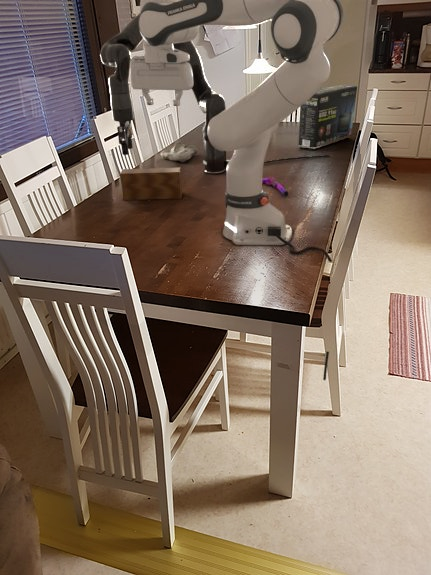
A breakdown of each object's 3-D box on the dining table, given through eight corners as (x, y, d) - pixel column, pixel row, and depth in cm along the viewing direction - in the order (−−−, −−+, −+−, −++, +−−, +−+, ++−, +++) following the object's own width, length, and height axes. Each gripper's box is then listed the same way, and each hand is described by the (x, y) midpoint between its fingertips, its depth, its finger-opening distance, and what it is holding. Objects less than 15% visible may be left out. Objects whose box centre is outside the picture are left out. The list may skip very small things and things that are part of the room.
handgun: (255, 182, 193) (255, 177, 192) (273, 180, 195) (273, 175, 194) (269, 198, 176) (269, 193, 175) (289, 195, 177) (289, 191, 176)
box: (182, 193, 185) (180, 167, 179) (181, 198, 180) (179, 171, 174) (126, 194, 186) (122, 169, 180) (123, 200, 180) (119, 173, 175)
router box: (314, 151, 231) (318, 94, 217) (296, 148, 237) (299, 92, 224) (352, 138, 251) (358, 85, 238) (335, 135, 258) (340, 83, 245)
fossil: (184, 156, 217) (163, 136, 220) (174, 174, 223) (154, 154, 227) (205, 153, 231) (186, 134, 234) (195, 171, 237) (176, 152, 240)
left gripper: (115, 103, 171) (121, 147, 180) (107, 110, 159) (114, 157, 168) (135, 102, 171) (140, 146, 179) (128, 109, 159) (134, 156, 167)
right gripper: (123, 56, 137) (129, 106, 144) (184, 56, 130) (187, 108, 137) (134, 55, 142) (140, 102, 149) (194, 54, 135) (196, 104, 142)
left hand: (127, 151), depth 173 cm, fingers open, 8 cm apart
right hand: (163, 105), depth 143 cm, fingers open, 8 cm apart
